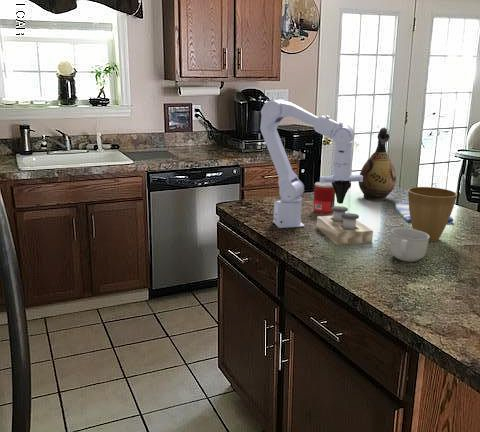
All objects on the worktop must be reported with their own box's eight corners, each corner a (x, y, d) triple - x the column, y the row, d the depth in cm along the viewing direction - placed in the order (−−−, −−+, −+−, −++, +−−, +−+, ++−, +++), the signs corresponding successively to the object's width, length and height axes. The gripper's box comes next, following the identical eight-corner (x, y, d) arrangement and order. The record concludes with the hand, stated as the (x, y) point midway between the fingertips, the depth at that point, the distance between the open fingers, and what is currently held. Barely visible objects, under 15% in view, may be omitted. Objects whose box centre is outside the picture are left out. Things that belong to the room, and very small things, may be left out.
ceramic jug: (395, 203, 217) (402, 131, 209) (357, 201, 220) (362, 129, 212) (392, 194, 234) (398, 126, 225) (357, 192, 236) (362, 125, 228)
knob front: (344, 231, 168) (345, 218, 167) (337, 226, 173) (338, 213, 172) (360, 230, 169) (361, 217, 168) (353, 225, 174) (354, 212, 173)
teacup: (397, 249, 163) (399, 224, 161) (432, 257, 156) (435, 232, 154) (377, 261, 152) (380, 235, 150) (414, 270, 146) (417, 243, 144)
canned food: (335, 214, 201) (337, 186, 198) (314, 213, 201) (315, 185, 198) (332, 208, 209) (334, 181, 206) (312, 208, 209) (313, 181, 206)
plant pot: (446, 248, 164) (452, 199, 159) (398, 240, 171) (403, 192, 167) (454, 236, 176) (460, 189, 172) (409, 229, 183) (414, 184, 179)
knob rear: (334, 223, 177) (334, 210, 175) (328, 219, 182) (328, 206, 181) (349, 222, 178) (350, 210, 176) (343, 218, 183) (344, 205, 182)
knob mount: (336, 244, 166) (337, 232, 165) (316, 227, 184) (317, 216, 183) (372, 242, 169) (373, 230, 168) (348, 225, 187) (349, 214, 186)
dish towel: (437, 208, 213) (437, 202, 212) (454, 225, 190) (455, 218, 189) (393, 207, 214) (394, 200, 213) (405, 224, 191) (406, 216, 191)
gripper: (326, 165, 169) (323, 206, 173) (368, 164, 172) (364, 204, 176) (318, 162, 176) (316, 201, 179) (359, 161, 179) (356, 199, 182)
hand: (339, 202), depth 178 cm, fingers closed
